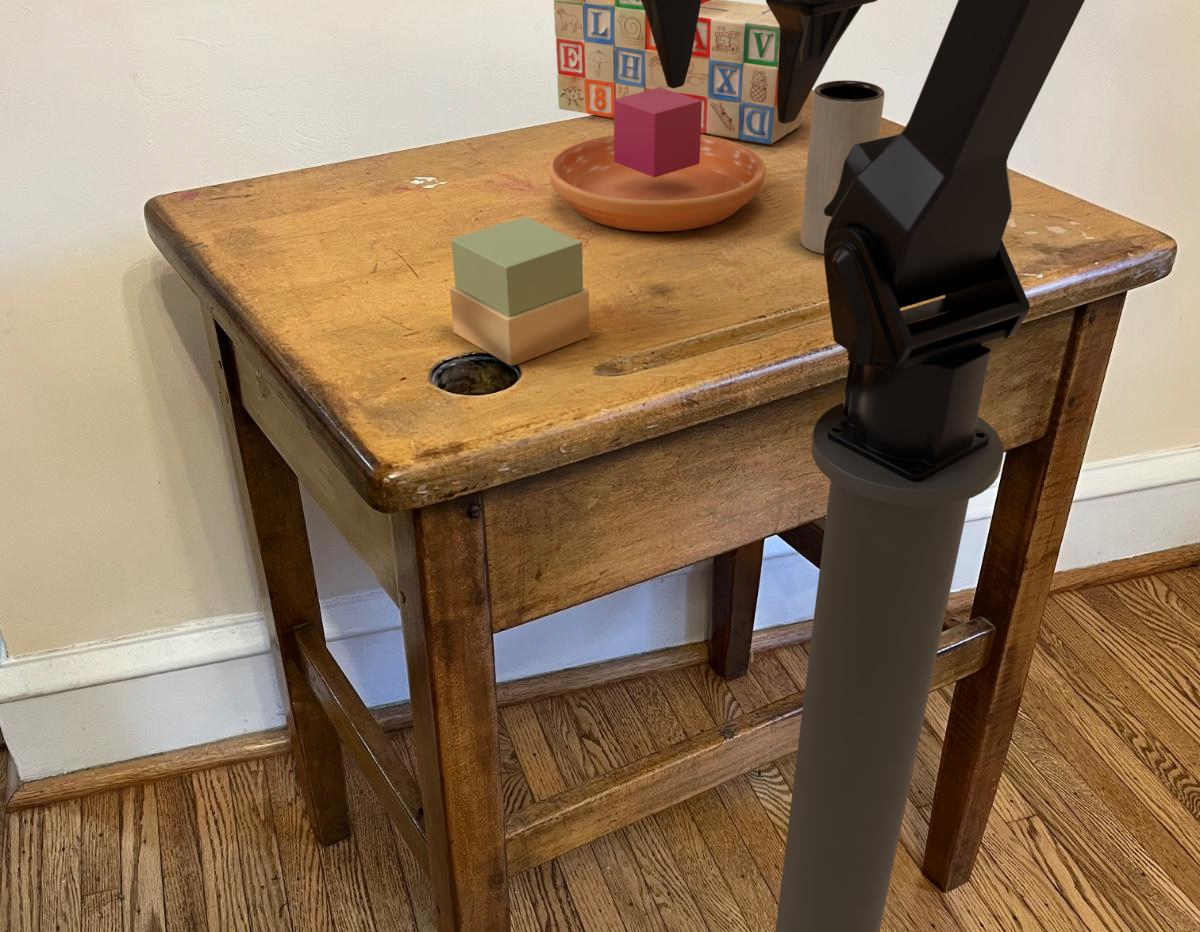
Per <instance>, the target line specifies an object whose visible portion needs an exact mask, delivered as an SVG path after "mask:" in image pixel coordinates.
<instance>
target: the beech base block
mask: <svg viewBox="0 0 1200 932" xmlns="http://www.w3.org/2000/svg"><path fill="white" fill-rule="evenodd" d="M449 295H450V304H451V306H450V307H451V317H452V329H453V333H454V334H456V335H457V336H459V337H460V338H463V339H464V340H466V341H468V343H470V344H472V345H474V346H476V347H478V348H480V349H481V350H483V351H484V352H486V353H488V354H489V355H491V356H493V357H494V358H496V359H498V360H499V361H501V362H502V363H505V364H506V365H508V366H509V367H515V366H516V365H517V366H518V365H519V364H522V363H525V362H528V361H530V360H533V359H535V358H538V357H540V356H543V355H546V354H548V353H550V352H553V351H557V350H559V349H561V348H564V347H566V346H568V345H572V344H574V343H576V342H578V341H581V340H584V339H587V338H589V337H590V335H591V333H590V332H591V331H590V330H591V329H590V291H589V290H587V289H585V288H583V290H582V291H579V292H577V293H574V294H571V295H568V296H566V297H563V298H560V299H557V300H554V301H552V302H549V303H546V304H543V305H541V306H538V307H535V308H532V309H529V310H527V311H524V312H521V313H518V314H516V315H513V316H507V315H506V314H504V313H502V312H500V311H498V310H497V309H495V308H493V307H491V306H489V305H488V304H486V303H484V302H482V301H480V300H478V299H477V298H475V297H473V296H471V295H469V294H468V293H466V292H464V291H462V290H460V289H459V288H457V287H456V286H455V285H453V286H450V287H449Z"/></svg>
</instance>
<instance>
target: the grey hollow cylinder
mask: <svg viewBox="0 0 1200 932" xmlns="http://www.w3.org/2000/svg"><path fill="white" fill-rule="evenodd" d="M812 94H813V95H812V106H811V117H810V118H811V119H810V129H809V139H808V140H809V141H808V151H807V162H806V173H805V182H804V193H803V205H802V206H803V207H802V216H801V227H800V228H801V229H800V243H801V245H802V246H803V247H804V248H805V249H807V250H809V251H811V252H813V253H818V254H821V255H824V241H825V236H826V232H827V228H828V225H829V223H830V220H831V218H832V217H830V216H826V215H825V214H824V209H825V207H826V206H827V205H828V204H829V203H830V202H831V201H832V199H833V197H834V196H835V194H836V192H837V190H838V186H839V183H840V179H841V175H842V170H843V166H844V162H845V159H846V158H847V156H848V154H849V153H850V151H851V149H852V148H853V146H854V145H855V144H858V143H863V142H867V141H872V140H876V139H880V134H881V125H882V118H883V110H884V103H885V90H884V89H883V87H881V86H879V85H877V84H874V83H870V82H867V81H861V80H850V79H849V80H848V79H847V80H845V79H844V80H831V81H827V82H823V83H820V84H818V85H816V86H815V88H814V89H813V93H812Z"/></svg>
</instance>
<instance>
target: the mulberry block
mask: <svg viewBox="0 0 1200 932" xmlns="http://www.w3.org/2000/svg"><path fill="white" fill-rule="evenodd" d="M701 112H702V101H701V100H698V99H695V98H691V97H688V96H685V95H682V94H679V93H676V92H673V91H670V90H667V89H664V88H660V87H659V88H656V89H652V90H648V91H644V92H640V93H637V94H633V95H629V96H625V97H621V98H618V99H614V118H613V135H614V162H616V163H618V164H621V165H623V166H626V167H628V168H631V169H634V170H636V171H639V172H641V173H644V174H646V175H649V176H652V177H654V178H655V177H658V176H661V175H664V174H668V173H671V172H674V171H677V170H680V169H684V168H687V167H690V166H693V165H697V164H699V163H700V138H701V135H702V133H701Z"/></svg>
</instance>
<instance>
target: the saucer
mask: <svg viewBox="0 0 1200 932" xmlns="http://www.w3.org/2000/svg"><path fill="white" fill-rule="evenodd" d="M766 172H767V167H766V164H765V161H764V160H763V158H762V157H761V156H760V155H759V154H758V153H756V152H755V151H754V150H751V149H750V148H748V147H746V146H744V145H742V144H739V143H737V142H734V141H730V140H728V139H724V138H721V137H717V136H713V135H712V136H710V135H706V134H701V138H700V163H699V164H697V165H693V166H690V167H687V168H684V169H680V170H677V171H674V172H671V173H668V174H664V175H661V176H658V177H655V178H654V177H652V176H649V175H646V174H644V173H641V172H639V171H636V170H634V169H631V168H628V167H626V166H623V165H621V164H618V163H616V162H614V134H608V135H603V136H598V137H595V138H590V139H585V140H583V141H580V142H576V143H574V144H572V145H570V146H568V147H566V148H564V149H562V150H561V151H559V152H558V153H557V154H556V155H554V157H553V158H552V160H551V161H550V163H549V168H548V173H549V180H550V184H551V186H552V188H553V190H554V191H555V192H556V193H557V194H558V195H559V196H560V197H561V198H562V200H563V201H564V202H566V203H567V204H568V205H569V206H571V207H572V208H573V209H574V210H575V211H576V212H577V213H578V214H579V215H581V216H583V217H584V218H586V219H588V220H589V221H592V222H594V223H597V224H599V225H600V224H601V225H603V226H607V227H611V228H615V229H620V230H626V231H627V230H628V231H637V232H653V233H654V232H655V233H656V232H658V233H659V232H661V233H662V232H679V231H686V230H694V229H699V228H704V227H707V226H711V225H714V224H718V223H719V222H722V221H724V220H726V219H728V218H729V217H731V216H733V215H734V214H735V213H736V212H737V211H738V210H739V209H741V208H742V207H743V206H745V205H746V204H747V203H749V202H750V201H751V200H752V198H753V197H754V196H756V195H757V193H759V192H760V191H761V189H762V187H763V184H764V181H765V177H766Z"/></svg>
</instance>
